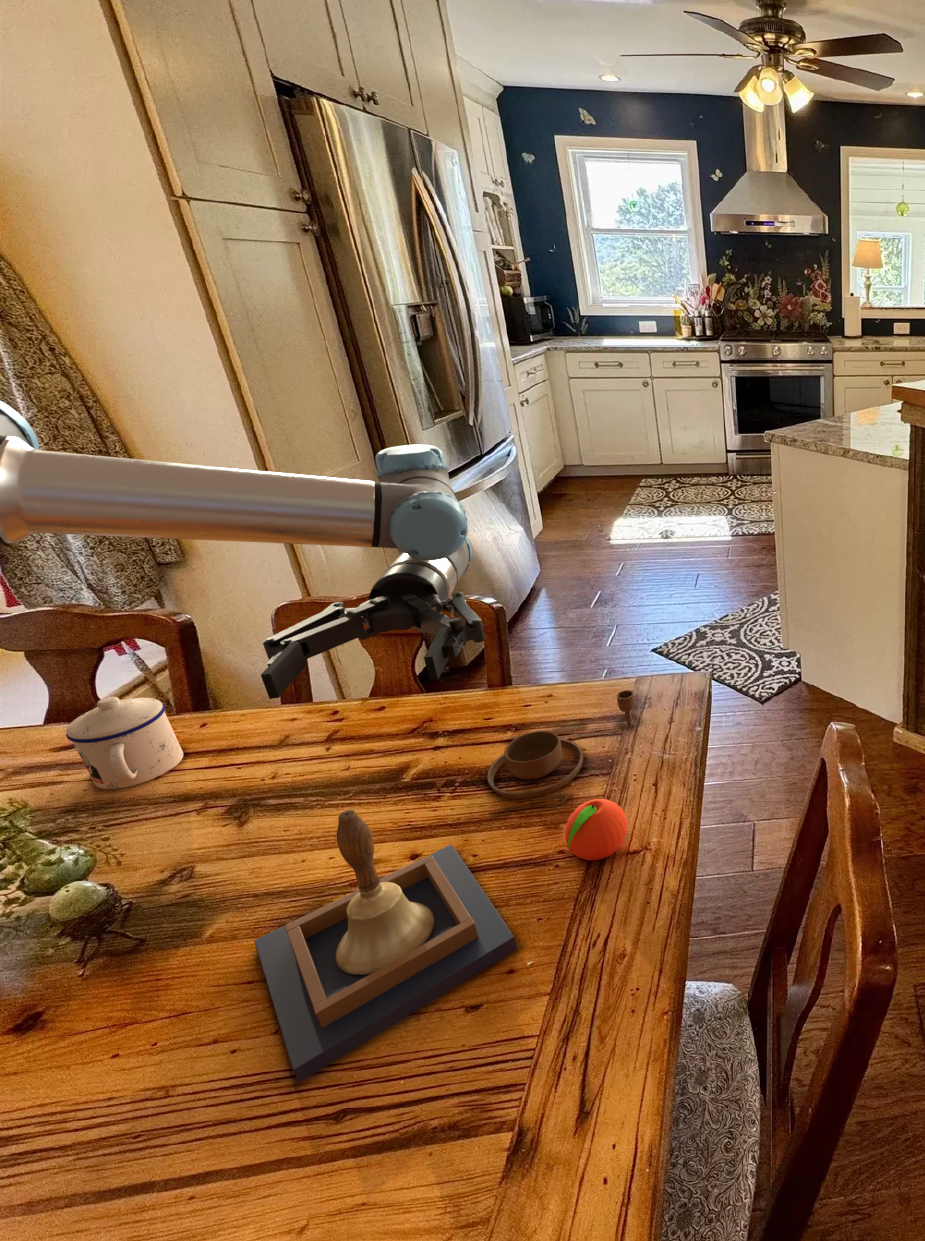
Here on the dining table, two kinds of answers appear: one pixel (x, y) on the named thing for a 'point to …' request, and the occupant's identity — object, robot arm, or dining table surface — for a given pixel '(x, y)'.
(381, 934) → the hand bell
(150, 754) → the teacup with lid
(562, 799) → the place setting
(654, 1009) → the dining table surface
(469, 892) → the bell stand
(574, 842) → the clementine
